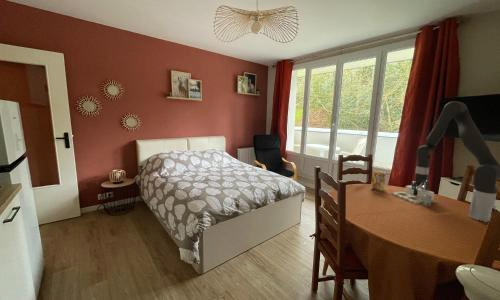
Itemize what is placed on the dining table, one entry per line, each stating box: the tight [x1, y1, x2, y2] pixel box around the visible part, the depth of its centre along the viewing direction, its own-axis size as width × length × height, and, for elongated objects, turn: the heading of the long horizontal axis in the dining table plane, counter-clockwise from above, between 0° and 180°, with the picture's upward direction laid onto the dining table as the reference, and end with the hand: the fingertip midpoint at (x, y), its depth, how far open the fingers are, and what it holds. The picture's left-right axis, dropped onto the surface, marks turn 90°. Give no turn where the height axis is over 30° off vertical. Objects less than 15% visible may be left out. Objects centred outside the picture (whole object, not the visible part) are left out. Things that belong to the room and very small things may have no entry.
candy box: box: [370, 170, 387, 191], centre depth 175 cm, size 9×4×15 cm, turn 44°
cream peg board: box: [390, 191, 423, 205], centre depth 157 cm, size 18×10×2 cm, turn 15°
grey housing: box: [404, 184, 435, 201], centre depth 159 cm, size 16×6×6 cm, turn 15°
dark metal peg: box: [422, 195, 432, 208], centre depth 144 cm, size 4×4×8 cm
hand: (418, 194), depth 159 cm, fingers closed on grey housing, 6 cm apart
